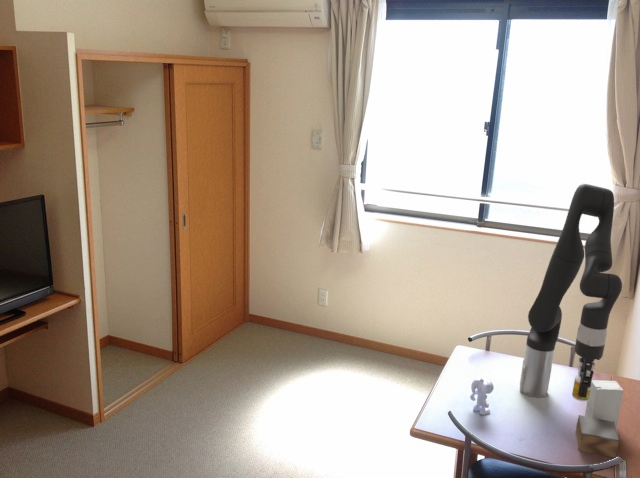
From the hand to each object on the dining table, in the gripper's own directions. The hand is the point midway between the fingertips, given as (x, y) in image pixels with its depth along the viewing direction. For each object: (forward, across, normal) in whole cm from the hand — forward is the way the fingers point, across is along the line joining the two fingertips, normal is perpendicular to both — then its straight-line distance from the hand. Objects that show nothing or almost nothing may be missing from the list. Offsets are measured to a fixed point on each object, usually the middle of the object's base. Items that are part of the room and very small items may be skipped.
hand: (581, 391), depth 175 cm
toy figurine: (+18, -7, -28) cm, 33 cm away
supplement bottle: (+2, 0, 0) cm, 2 cm away
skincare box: (+18, -14, +9) cm, 24 cm away
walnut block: (+17, -2, +6) cm, 19 cm away
